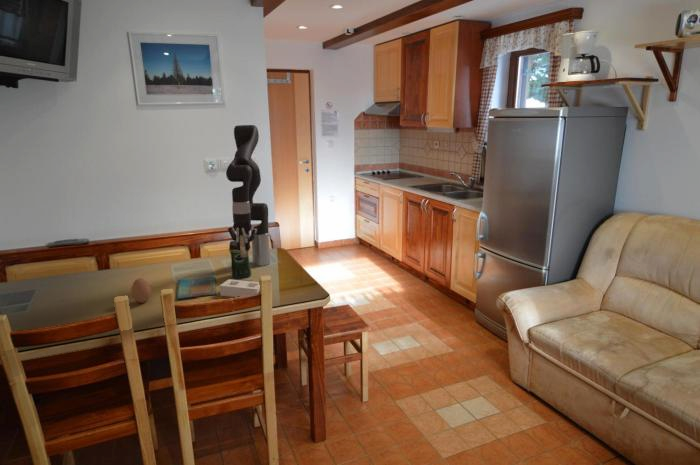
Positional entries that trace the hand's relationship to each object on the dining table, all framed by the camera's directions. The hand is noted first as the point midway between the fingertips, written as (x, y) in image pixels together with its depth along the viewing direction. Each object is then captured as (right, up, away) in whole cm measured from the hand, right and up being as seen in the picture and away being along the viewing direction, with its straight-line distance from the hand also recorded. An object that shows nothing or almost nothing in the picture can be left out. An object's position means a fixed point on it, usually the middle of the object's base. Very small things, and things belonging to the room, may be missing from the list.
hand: (243, 250), depth 191 cm
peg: (0, -3, +1) cm, 3 cm away
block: (-1, -20, +3) cm, 20 cm away
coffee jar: (-8, -14, +26) cm, 30 cm away
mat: (-6, -17, +15) cm, 24 cm away
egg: (-42, -22, -5) cm, 48 cm away
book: (-24, -19, +10) cm, 32 cm away
